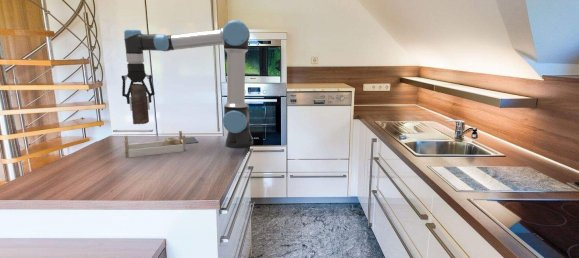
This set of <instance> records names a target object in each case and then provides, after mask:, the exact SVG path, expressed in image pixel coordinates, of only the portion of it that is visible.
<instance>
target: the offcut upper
mask: <svg viewBox="0 0 579 258" xmlns="http://www.w3.org/2000/svg"><path fill="white" fill-rule="evenodd" d="M179 138H180V137H178V136H172V137H166V138H164V141H165V144H166V145H167V146H170V145H180V139H179Z"/></svg>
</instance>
